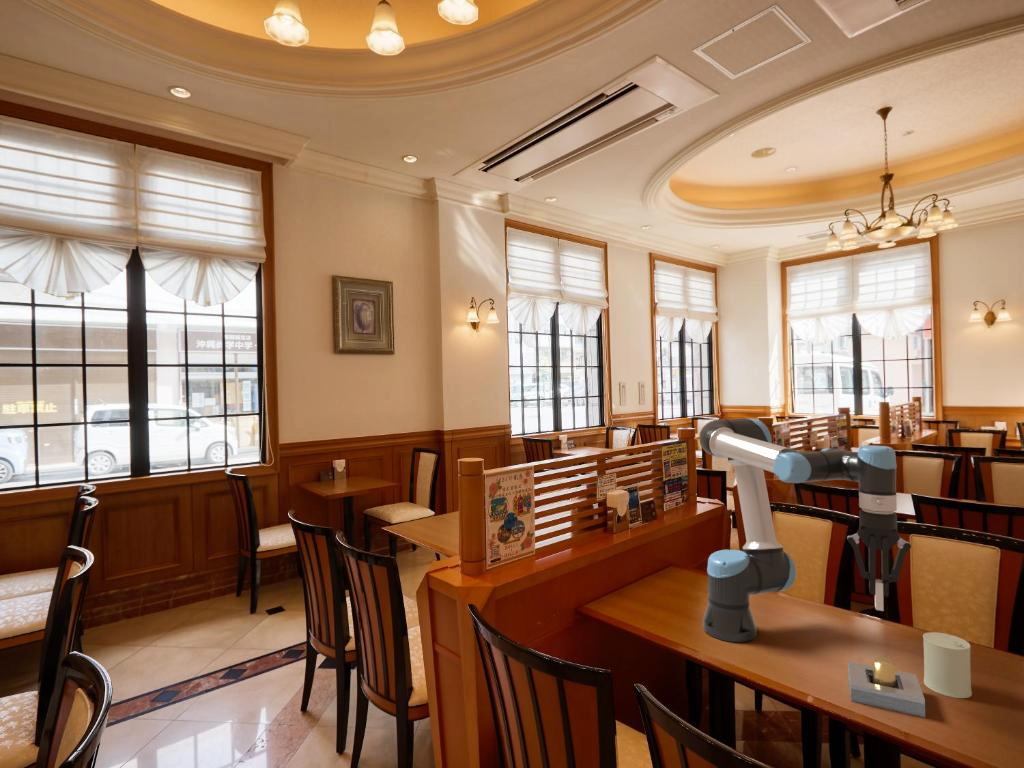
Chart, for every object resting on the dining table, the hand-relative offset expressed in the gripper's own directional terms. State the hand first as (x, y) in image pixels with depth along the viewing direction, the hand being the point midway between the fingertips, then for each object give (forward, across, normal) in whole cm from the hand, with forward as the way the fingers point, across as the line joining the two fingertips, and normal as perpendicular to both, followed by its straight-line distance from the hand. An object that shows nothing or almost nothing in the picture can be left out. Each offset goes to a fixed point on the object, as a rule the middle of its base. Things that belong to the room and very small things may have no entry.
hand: (879, 608), depth 130 cm
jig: (+20, +1, -1) cm, 20 cm away
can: (+21, +14, +10) cm, 27 cm away
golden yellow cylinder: (+20, +1, -1) cm, 20 cm away
